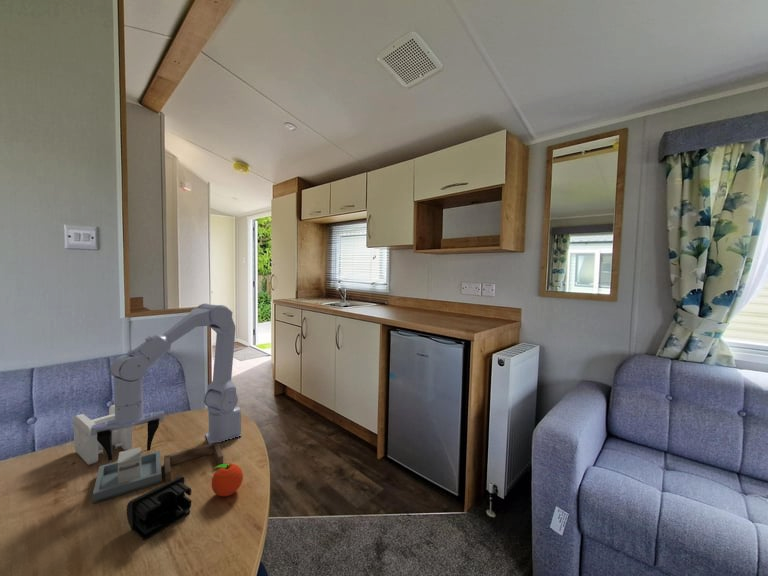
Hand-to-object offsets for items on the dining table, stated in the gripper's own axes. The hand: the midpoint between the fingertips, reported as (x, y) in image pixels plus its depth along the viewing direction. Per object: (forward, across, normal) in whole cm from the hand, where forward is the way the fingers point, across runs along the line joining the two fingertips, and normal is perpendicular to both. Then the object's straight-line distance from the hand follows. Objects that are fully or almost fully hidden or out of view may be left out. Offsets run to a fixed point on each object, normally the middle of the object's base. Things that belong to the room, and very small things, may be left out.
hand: (130, 453), depth 82 cm
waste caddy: (+6, 0, 0) cm, 6 cm away
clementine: (+7, +19, -20) cm, 28 cm away
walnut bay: (+7, +14, -3) cm, 16 cm away
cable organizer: (+7, -7, +20) cm, 22 cm away
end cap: (+7, +6, -21) cm, 23 cm away
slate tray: (+7, 0, 0) cm, 7 cm away
